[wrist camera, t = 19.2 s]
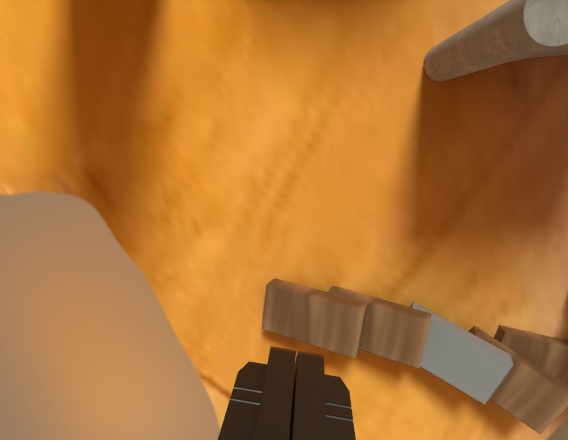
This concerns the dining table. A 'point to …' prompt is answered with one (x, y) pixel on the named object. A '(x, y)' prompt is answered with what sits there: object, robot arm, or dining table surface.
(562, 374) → the domino
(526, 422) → the domino
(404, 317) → the domino
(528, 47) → the hip flask
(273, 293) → the domino
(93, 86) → the dining table surface
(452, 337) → the domino
